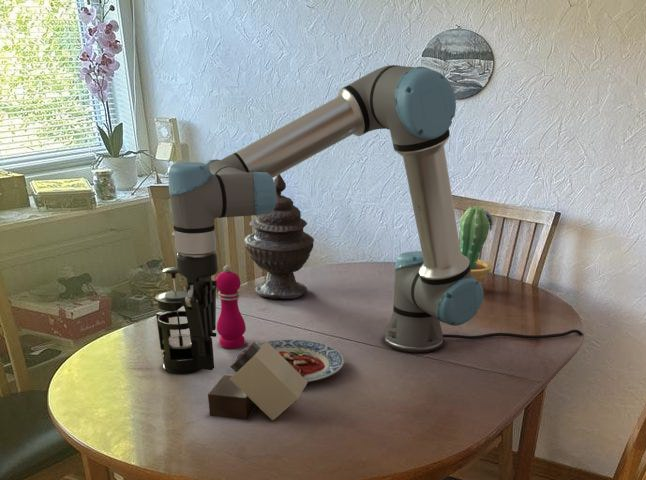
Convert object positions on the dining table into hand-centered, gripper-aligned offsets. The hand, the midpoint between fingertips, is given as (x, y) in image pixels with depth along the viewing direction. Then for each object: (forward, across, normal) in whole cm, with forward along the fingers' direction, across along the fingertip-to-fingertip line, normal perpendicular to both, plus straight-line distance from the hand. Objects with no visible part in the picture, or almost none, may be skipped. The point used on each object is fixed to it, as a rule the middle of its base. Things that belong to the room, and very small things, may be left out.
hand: (206, 368), depth 145 cm
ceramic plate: (+9, -23, +11) cm, 27 cm away
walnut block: (+8, 0, +6) cm, 10 cm away
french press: (+9, -18, -14) cm, 24 cm away
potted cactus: (+9, -97, +49) cm, 109 cm away
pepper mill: (+9, -34, -7) cm, 36 cm away
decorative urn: (+9, -77, -6) cm, 78 cm away
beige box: (+8, 0, +13) cm, 16 cm away
